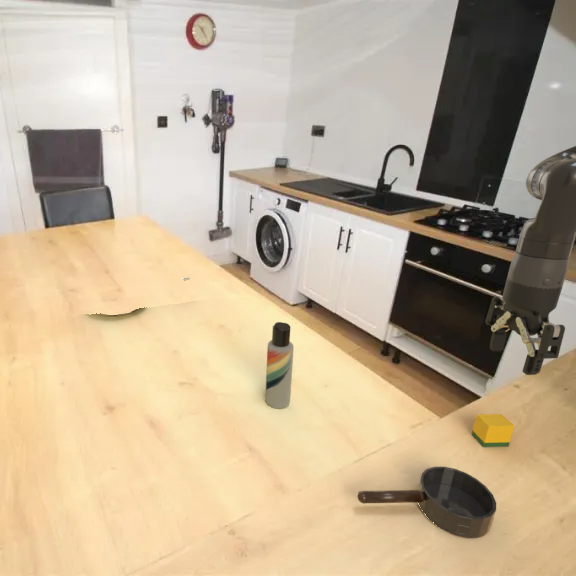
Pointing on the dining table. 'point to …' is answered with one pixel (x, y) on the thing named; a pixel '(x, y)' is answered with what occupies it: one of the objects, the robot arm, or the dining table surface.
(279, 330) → the lotion bottle
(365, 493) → the pan handle
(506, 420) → the sponge
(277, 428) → the dining table surface
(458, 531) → the pan
